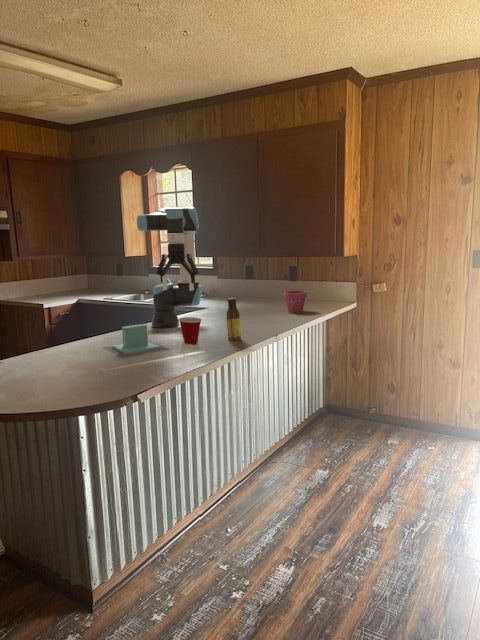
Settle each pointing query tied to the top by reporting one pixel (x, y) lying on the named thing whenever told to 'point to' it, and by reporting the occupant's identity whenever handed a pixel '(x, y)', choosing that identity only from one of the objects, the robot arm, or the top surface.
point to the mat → (135, 353)
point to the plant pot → (295, 300)
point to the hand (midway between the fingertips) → (178, 290)
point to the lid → (135, 340)
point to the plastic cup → (190, 329)
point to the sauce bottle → (233, 320)
